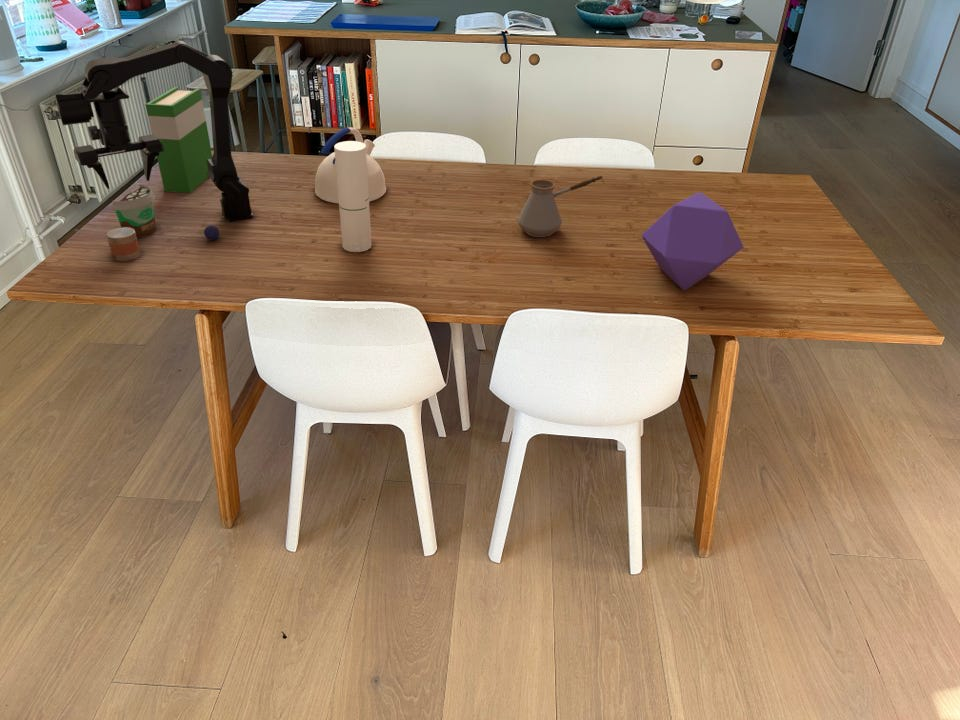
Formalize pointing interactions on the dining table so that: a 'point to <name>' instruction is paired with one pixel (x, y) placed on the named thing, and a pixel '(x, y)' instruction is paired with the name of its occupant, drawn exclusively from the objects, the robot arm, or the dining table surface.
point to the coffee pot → (544, 208)
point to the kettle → (328, 177)
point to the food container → (137, 211)
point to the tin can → (123, 244)
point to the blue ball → (211, 232)
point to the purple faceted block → (692, 240)
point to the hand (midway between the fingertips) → (128, 184)
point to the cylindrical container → (353, 195)
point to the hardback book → (180, 138)
